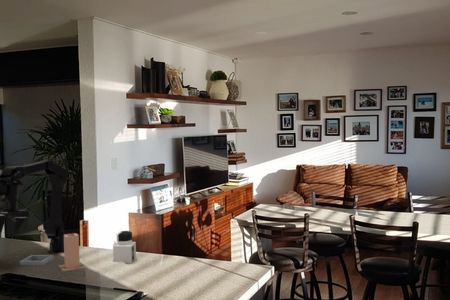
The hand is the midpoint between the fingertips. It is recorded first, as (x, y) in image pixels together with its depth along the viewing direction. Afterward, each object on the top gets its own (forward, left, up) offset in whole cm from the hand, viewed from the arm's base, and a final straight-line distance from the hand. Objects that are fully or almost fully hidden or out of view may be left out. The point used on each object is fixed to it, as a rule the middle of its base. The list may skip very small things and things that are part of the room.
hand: (7, 233), depth 190 cm
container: (-35, +34, -15) cm, 50 cm away
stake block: (-15, +25, -14) cm, 32 cm away
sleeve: (-15, +25, -13) cm, 32 cm away
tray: (-10, +6, -14) cm, 18 cm away
